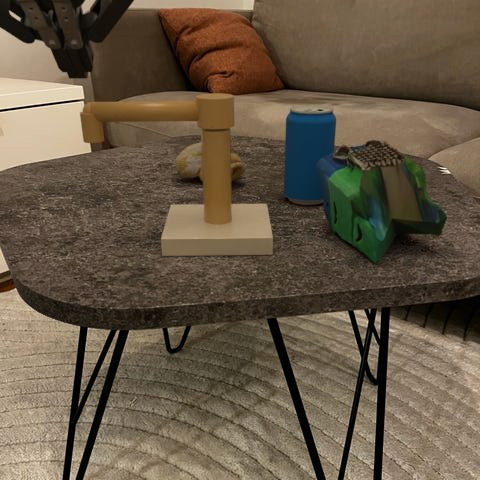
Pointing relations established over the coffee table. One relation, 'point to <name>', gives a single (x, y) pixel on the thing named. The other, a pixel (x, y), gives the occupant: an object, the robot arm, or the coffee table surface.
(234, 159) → the seashell
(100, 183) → the coffee table surface
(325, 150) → the beverage can
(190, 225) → the faucet base
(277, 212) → the coffee table surface
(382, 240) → the sculpture
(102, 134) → the spout
